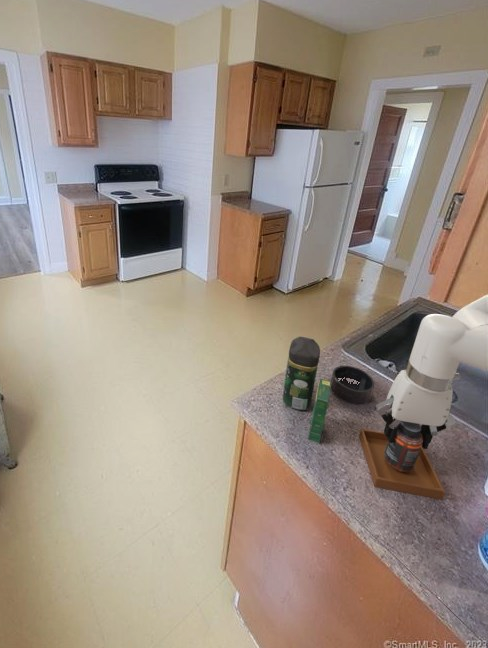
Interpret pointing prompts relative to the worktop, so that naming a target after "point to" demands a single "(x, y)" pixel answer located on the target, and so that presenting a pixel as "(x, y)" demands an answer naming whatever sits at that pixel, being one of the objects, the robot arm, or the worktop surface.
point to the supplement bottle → (404, 447)
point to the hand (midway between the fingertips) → (405, 439)
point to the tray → (387, 477)
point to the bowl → (352, 385)
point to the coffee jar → (301, 373)
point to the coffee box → (319, 410)
